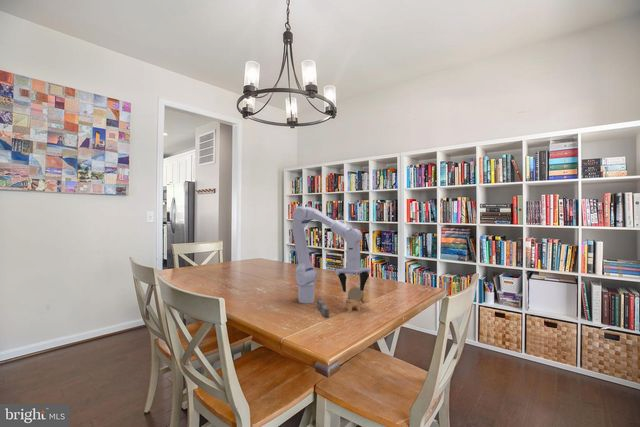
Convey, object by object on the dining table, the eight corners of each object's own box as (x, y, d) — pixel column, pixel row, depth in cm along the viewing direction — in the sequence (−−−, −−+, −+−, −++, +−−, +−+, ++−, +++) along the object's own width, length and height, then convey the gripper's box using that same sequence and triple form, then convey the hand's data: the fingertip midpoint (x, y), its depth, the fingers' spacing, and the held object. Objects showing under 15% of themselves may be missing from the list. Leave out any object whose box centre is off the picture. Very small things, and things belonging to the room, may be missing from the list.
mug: (365, 297, 142) (368, 282, 137) (359, 312, 134) (361, 296, 129) (351, 292, 144) (353, 277, 139) (344, 306, 137) (346, 291, 132)
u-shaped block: (346, 310, 122) (346, 300, 122) (357, 309, 123) (357, 299, 123) (349, 313, 118) (349, 303, 118) (360, 312, 119) (360, 302, 119)
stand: (308, 308, 126) (308, 298, 126) (326, 307, 127) (326, 296, 127) (317, 324, 108) (317, 312, 108) (338, 322, 110) (338, 310, 110)
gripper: (339, 260, 115) (339, 294, 115) (373, 259, 118) (373, 292, 118) (334, 257, 122) (334, 289, 122) (366, 256, 125) (366, 287, 125)
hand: (353, 290), depth 120 cm, fingers open, 7 cm apart
